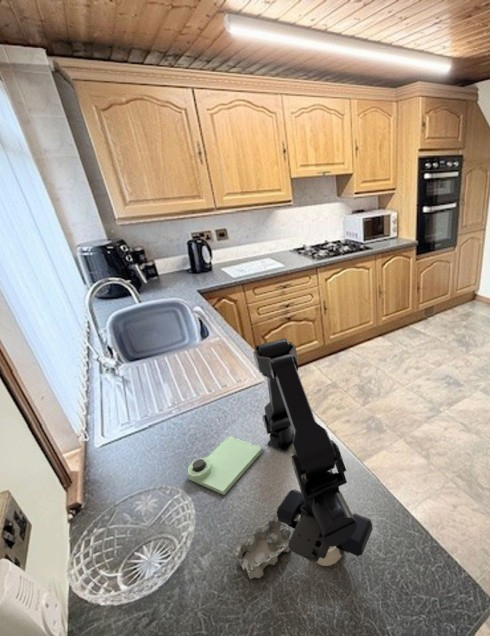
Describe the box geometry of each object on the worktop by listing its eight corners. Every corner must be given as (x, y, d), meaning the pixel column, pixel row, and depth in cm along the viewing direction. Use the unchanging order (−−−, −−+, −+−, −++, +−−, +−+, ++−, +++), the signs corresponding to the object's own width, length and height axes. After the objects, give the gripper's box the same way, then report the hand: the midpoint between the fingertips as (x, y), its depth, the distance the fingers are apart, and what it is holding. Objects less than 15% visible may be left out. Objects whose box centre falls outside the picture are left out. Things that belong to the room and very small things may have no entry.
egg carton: (251, 586, 67) (247, 574, 65) (235, 557, 72) (230, 545, 70) (298, 546, 73) (295, 534, 72) (279, 522, 78) (277, 510, 77)
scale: (228, 438, 102) (226, 430, 101) (263, 451, 97) (261, 443, 96) (185, 479, 90) (182, 471, 89) (223, 496, 85) (220, 488, 84)
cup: (322, 529, 76) (320, 515, 74) (349, 541, 74) (347, 526, 72) (306, 559, 71) (303, 544, 69) (334, 573, 68) (332, 557, 66)
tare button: (200, 461, 92) (198, 457, 91) (207, 465, 90) (206, 460, 90) (191, 469, 89) (189, 465, 89) (199, 473, 88) (197, 469, 88)
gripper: (252, 514, 62) (266, 565, 69) (345, 557, 55) (351, 609, 62) (288, 466, 71) (297, 516, 78) (372, 498, 64) (374, 549, 71)
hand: (327, 545), depth 72 cm, fingers open, 7 cm apart
